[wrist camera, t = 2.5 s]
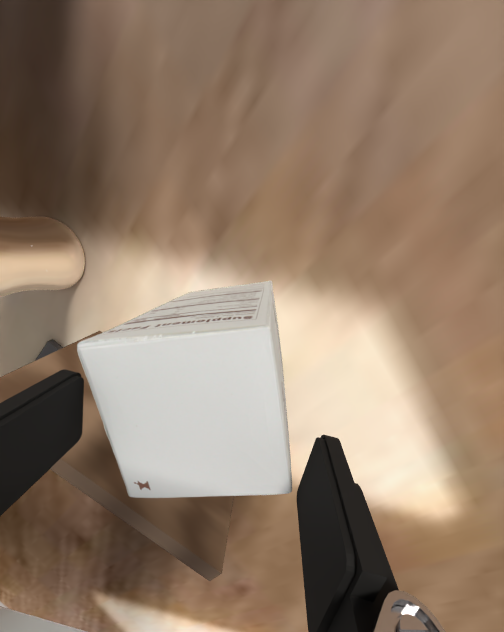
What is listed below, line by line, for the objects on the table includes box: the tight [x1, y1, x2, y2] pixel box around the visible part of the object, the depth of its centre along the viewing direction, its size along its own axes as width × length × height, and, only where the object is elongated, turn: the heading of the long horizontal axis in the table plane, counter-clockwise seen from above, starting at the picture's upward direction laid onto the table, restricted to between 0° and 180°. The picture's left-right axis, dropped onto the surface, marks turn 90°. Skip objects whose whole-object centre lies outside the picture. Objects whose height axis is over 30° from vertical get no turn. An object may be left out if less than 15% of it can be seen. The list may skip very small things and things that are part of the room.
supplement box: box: [77, 281, 292, 498], centre depth 15 cm, size 7×7×13 cm
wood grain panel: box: [0, 331, 234, 581], centre depth 19 cm, size 18×1×10 cm, turn 48°
